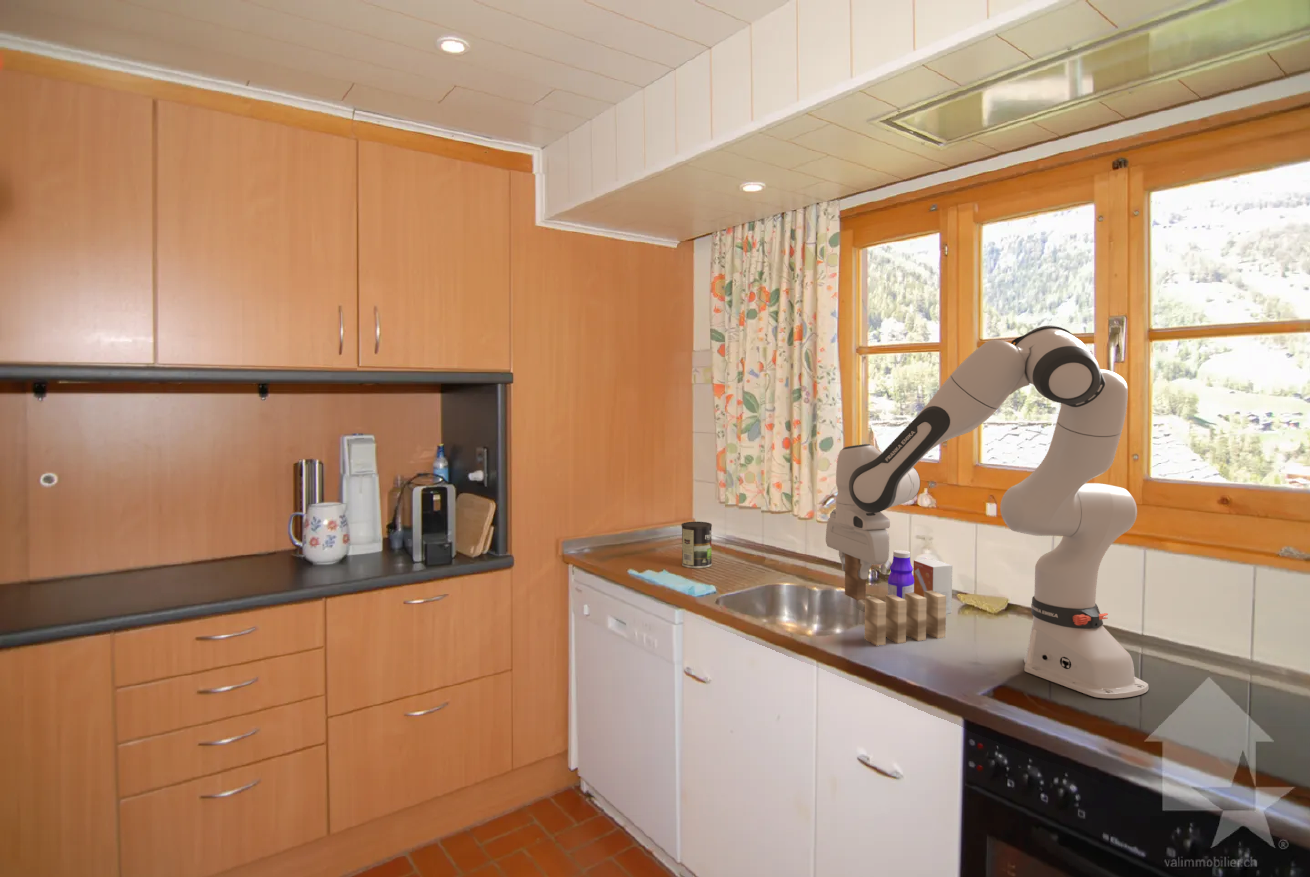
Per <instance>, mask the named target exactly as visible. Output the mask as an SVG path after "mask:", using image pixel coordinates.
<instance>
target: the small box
mask: <svg viewBox="0 0 1310 877" xmlns="http://www.w3.org/2000/svg"><path fill="white" fill-rule="evenodd" d="M912 568H913V571H912V575H913V577H914V593H915V594H918V595H920V596H922V597H924V591H934V592H937V593H939V594H942V595H945V596H946V615H948V614H952V605H953V604H952V603H953V602H952V600H953V599H952V598H953V597H952V596H953V564H949V563H947V562H944V561H941V560H937V559H934V558H921V559H913V566H912Z"/></svg>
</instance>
